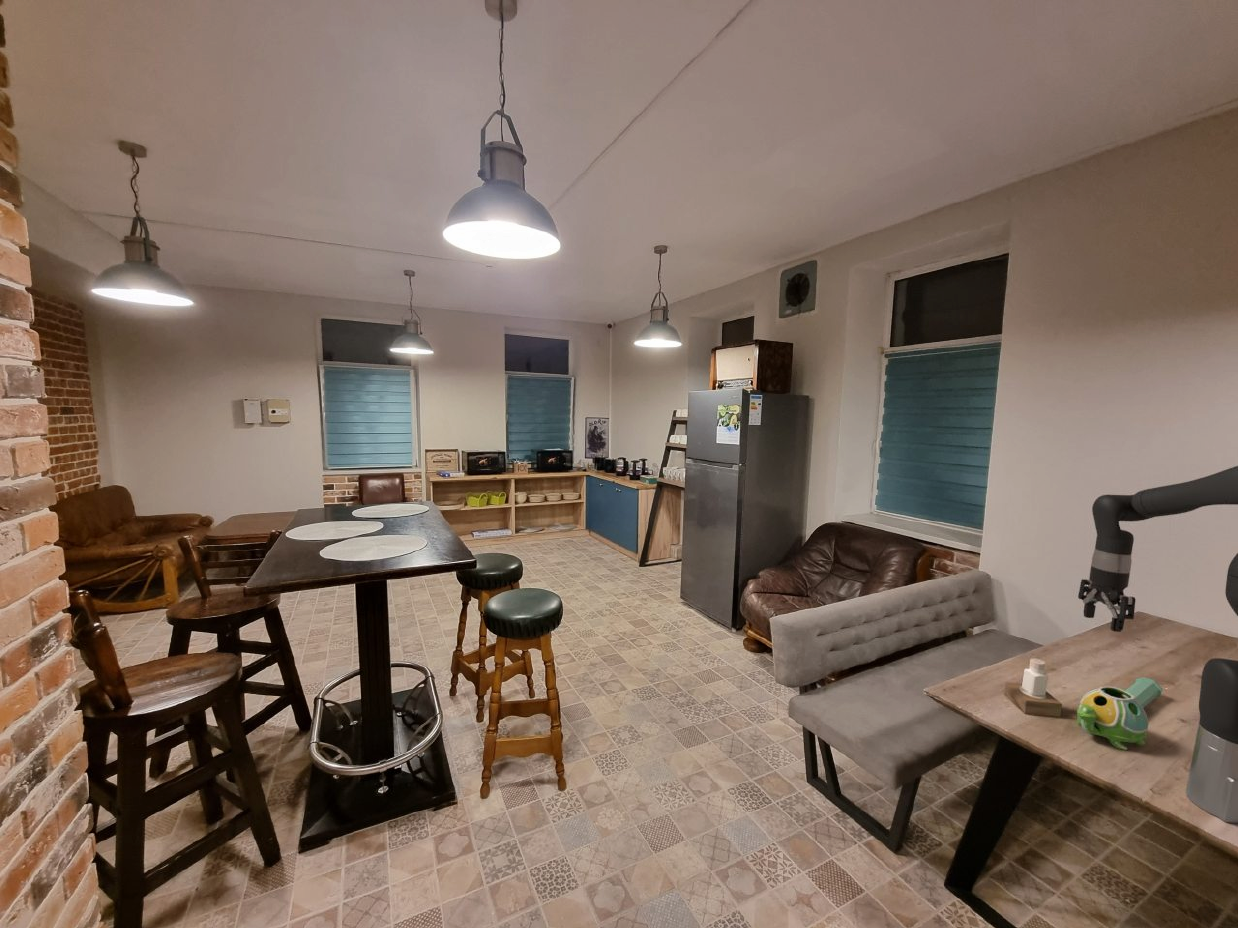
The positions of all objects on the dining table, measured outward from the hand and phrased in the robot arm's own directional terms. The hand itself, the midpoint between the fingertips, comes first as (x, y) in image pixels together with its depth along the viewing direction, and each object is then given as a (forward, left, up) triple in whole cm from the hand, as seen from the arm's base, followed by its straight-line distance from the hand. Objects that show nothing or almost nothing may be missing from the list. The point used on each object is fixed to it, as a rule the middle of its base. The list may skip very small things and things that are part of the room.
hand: (1101, 623), depth 135 cm
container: (+5, -15, -27) cm, 31 cm away
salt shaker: (+1, +14, -22) cm, 26 cm away
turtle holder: (-10, +3, -27) cm, 29 cm away
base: (+1, +14, -26) cm, 30 cm away
